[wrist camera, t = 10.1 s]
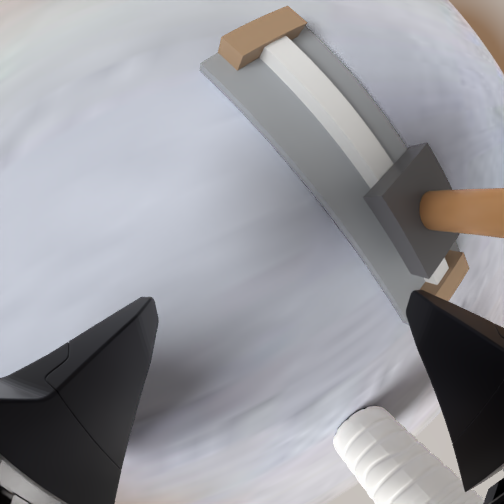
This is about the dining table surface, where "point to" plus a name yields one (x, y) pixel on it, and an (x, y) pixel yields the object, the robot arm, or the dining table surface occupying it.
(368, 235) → the rail
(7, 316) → the dining table surface
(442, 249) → the carriage
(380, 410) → the water bottle
